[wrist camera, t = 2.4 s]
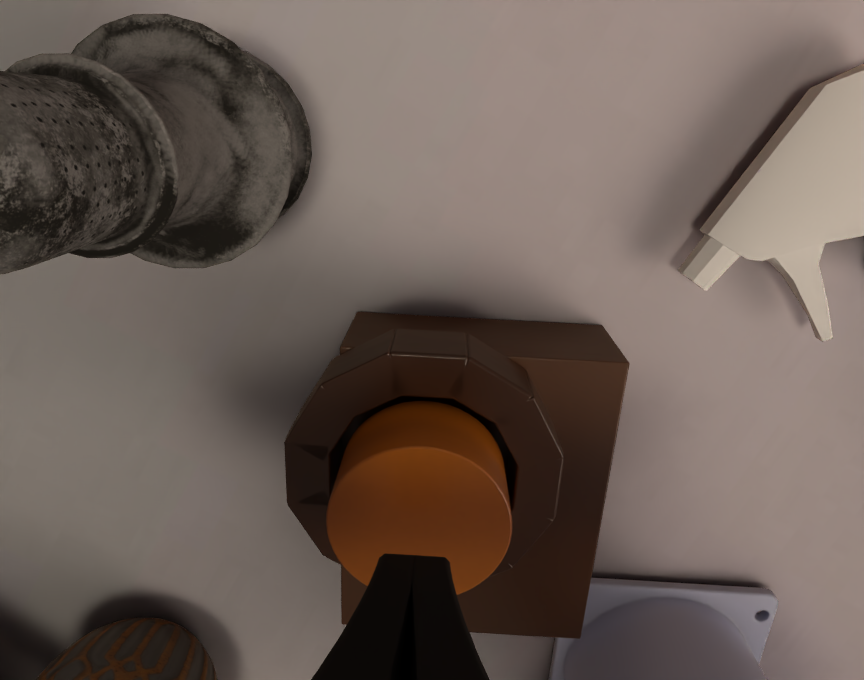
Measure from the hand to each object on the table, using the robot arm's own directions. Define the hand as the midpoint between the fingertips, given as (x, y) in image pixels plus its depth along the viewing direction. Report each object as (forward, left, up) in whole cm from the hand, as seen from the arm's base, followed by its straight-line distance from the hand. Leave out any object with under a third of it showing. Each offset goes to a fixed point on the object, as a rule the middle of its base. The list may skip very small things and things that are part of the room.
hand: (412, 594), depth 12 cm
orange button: (0, 0, -4) cm, 4 cm away
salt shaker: (+8, +6, -9) cm, 14 cm away
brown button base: (-2, -2, -9) cm, 9 cm away
